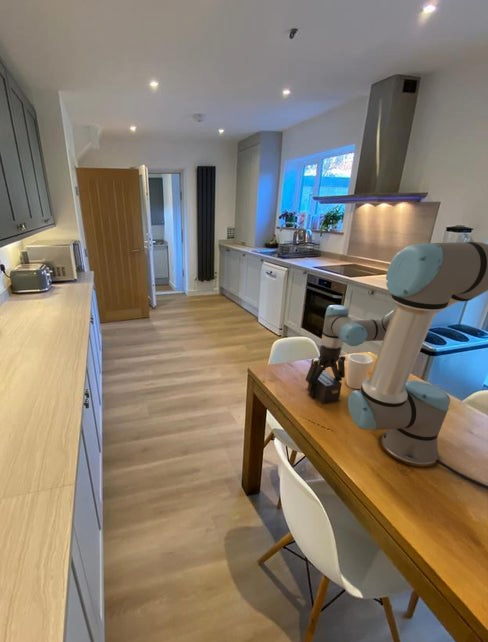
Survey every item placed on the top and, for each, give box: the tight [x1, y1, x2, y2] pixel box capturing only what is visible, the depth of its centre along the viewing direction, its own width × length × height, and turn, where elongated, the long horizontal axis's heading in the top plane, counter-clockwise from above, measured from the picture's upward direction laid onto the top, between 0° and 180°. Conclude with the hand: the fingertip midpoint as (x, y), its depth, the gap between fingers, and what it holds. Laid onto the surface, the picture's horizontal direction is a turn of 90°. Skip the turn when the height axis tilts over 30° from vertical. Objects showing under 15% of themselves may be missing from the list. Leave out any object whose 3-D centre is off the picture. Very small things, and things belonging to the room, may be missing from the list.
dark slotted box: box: [307, 370, 343, 404], centre depth 132 cm, size 12×7×8 cm, turn 14°
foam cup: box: [346, 353, 374, 390], centre depth 138 cm, size 10×9×13 cm
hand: (322, 394), depth 134 cm, fingers open, 9 cm apart
